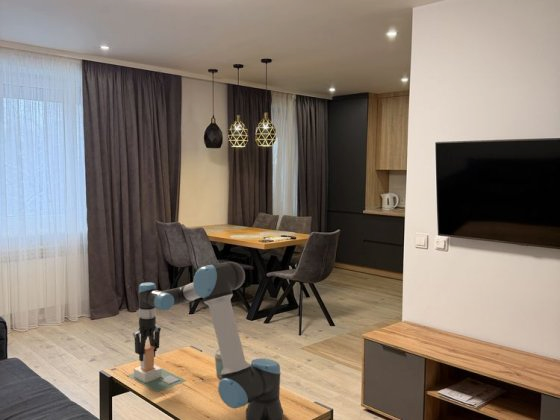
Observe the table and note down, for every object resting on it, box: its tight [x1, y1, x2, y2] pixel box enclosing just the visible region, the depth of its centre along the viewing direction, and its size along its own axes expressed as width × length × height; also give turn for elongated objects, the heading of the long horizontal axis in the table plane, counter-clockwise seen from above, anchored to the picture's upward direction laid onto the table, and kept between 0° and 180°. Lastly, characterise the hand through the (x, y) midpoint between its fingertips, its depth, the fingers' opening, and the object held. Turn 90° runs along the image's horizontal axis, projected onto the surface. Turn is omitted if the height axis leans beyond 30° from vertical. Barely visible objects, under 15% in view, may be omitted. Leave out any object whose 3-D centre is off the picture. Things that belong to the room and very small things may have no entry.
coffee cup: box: [214, 349, 224, 380], centre depth 233 cm, size 8×8×12 cm
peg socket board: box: [126, 364, 187, 393], centre depth 226 cm, size 24×16×6 cm, turn 49°
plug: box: [141, 343, 155, 372], centre depth 226 cm, size 5×5×14 cm
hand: (147, 365), depth 226 cm, fingers closed on plug, 4 cm apart
